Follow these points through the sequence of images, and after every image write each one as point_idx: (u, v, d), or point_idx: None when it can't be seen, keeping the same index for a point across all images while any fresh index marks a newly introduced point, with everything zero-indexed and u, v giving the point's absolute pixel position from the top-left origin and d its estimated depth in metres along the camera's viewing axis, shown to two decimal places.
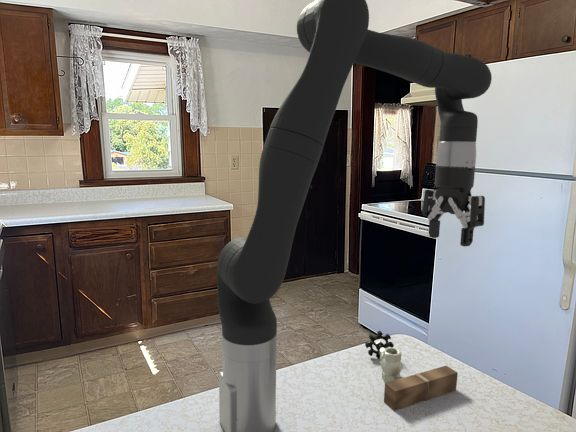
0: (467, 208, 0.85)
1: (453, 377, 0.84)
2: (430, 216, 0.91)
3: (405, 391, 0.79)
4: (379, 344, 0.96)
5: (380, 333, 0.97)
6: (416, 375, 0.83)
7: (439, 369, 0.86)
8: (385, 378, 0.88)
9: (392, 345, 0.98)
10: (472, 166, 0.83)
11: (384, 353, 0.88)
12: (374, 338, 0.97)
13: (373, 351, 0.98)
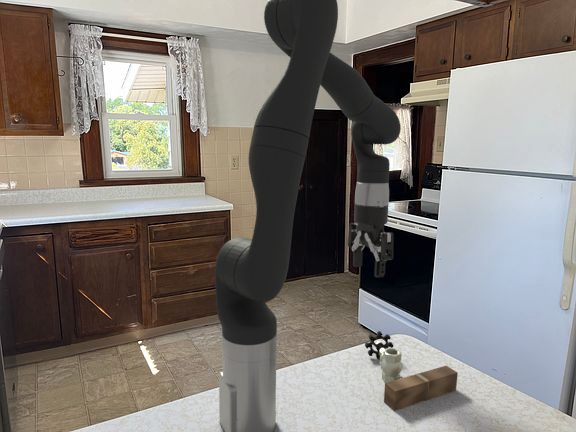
0: None
1: (453, 377, 0.84)
2: (353, 247, 1.00)
3: (405, 391, 0.79)
4: (379, 344, 0.96)
5: (380, 333, 0.97)
6: (416, 375, 0.83)
7: (439, 369, 0.86)
8: (385, 378, 0.88)
9: (392, 345, 0.97)
10: (384, 205, 0.92)
11: (384, 354, 0.88)
12: (374, 338, 0.97)
13: (373, 351, 0.98)
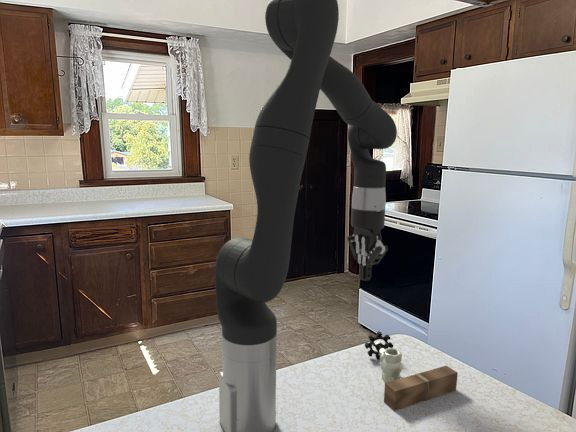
0: None
1: (453, 377, 0.84)
2: (359, 260, 0.97)
3: (405, 391, 0.79)
4: (379, 345, 0.96)
5: (380, 334, 0.97)
6: (416, 375, 0.83)
7: (439, 369, 0.86)
8: (385, 379, 0.88)
9: (392, 346, 0.97)
10: (381, 209, 0.92)
11: (384, 354, 0.88)
12: (374, 339, 0.97)
13: (373, 352, 0.98)
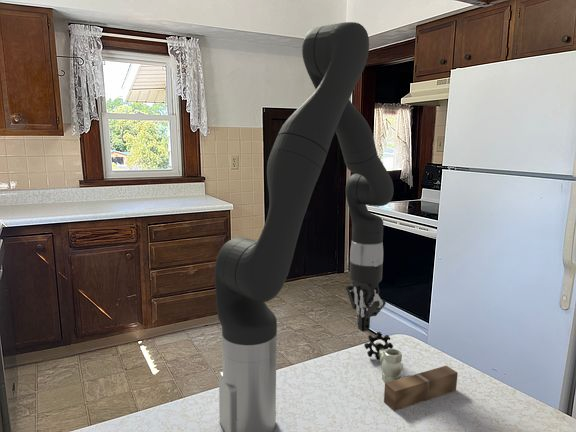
0: None
1: (453, 377, 0.84)
2: (358, 311, 1.00)
3: (405, 391, 0.79)
4: (379, 345, 0.96)
5: (379, 334, 0.97)
6: (416, 375, 0.83)
7: (439, 369, 0.86)
8: (385, 379, 0.87)
9: (391, 346, 0.97)
10: (378, 264, 0.94)
11: (384, 354, 0.88)
12: (373, 339, 0.97)
13: (372, 352, 0.97)
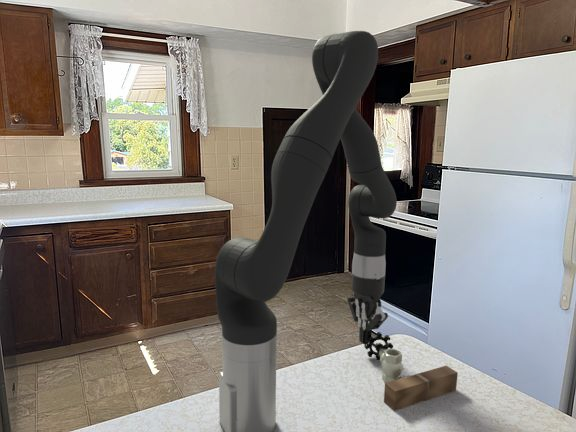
0: None
1: (453, 377, 0.84)
2: (359, 323, 0.99)
3: (405, 391, 0.79)
4: (379, 345, 0.96)
5: (380, 334, 0.96)
6: (416, 375, 0.83)
7: (439, 369, 0.86)
8: (386, 380, 0.87)
9: (391, 346, 0.97)
10: (381, 277, 0.94)
11: (385, 355, 0.87)
12: (373, 339, 0.97)
13: (372, 352, 0.97)
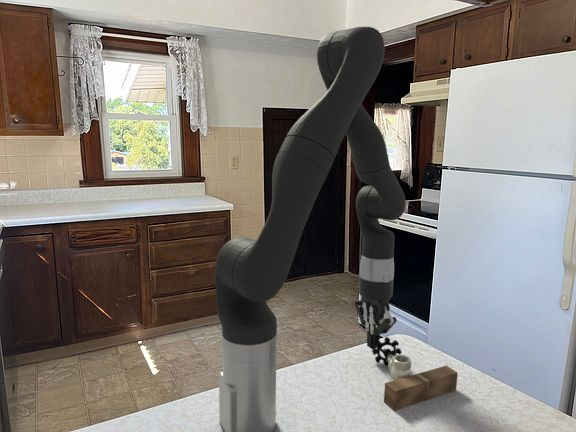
0: None
1: (453, 377, 0.84)
2: (367, 328, 0.96)
3: (405, 391, 0.79)
4: (387, 351, 0.93)
5: (388, 339, 0.94)
6: (416, 375, 0.83)
7: (439, 369, 0.86)
8: None
9: (400, 352, 0.95)
10: (389, 280, 0.91)
11: (393, 361, 0.85)
12: (381, 344, 0.94)
13: (380, 358, 0.95)
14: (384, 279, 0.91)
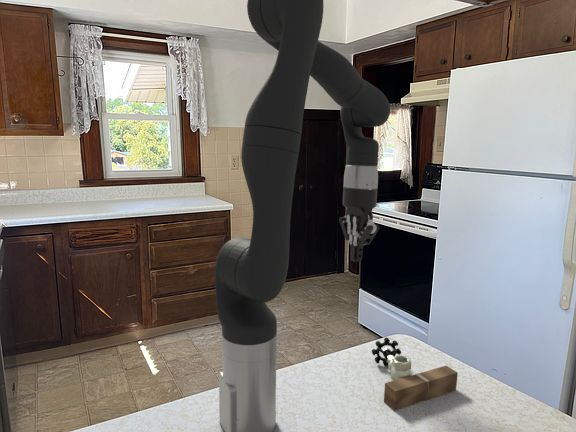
0: None
1: (453, 377, 0.84)
2: (351, 240, 0.96)
3: (405, 391, 0.79)
4: (386, 351, 0.93)
5: (387, 340, 0.94)
6: (416, 375, 0.83)
7: (439, 369, 0.86)
8: None
9: (399, 352, 0.94)
10: (372, 188, 0.91)
11: (393, 361, 0.85)
12: (381, 345, 0.94)
13: (380, 358, 0.95)
14: (367, 186, 0.90)
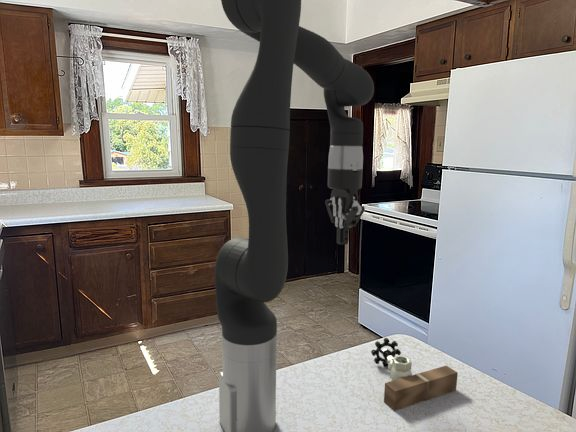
0: None
1: (453, 377, 0.84)
2: (336, 223, 0.94)
3: (405, 391, 0.79)
4: (386, 352, 0.93)
5: (387, 340, 0.93)
6: (416, 375, 0.83)
7: (439, 369, 0.86)
8: None
9: (399, 352, 0.94)
10: (357, 169, 0.89)
11: (394, 362, 0.84)
12: (381, 345, 0.94)
13: (380, 359, 0.94)
14: (352, 167, 0.88)
